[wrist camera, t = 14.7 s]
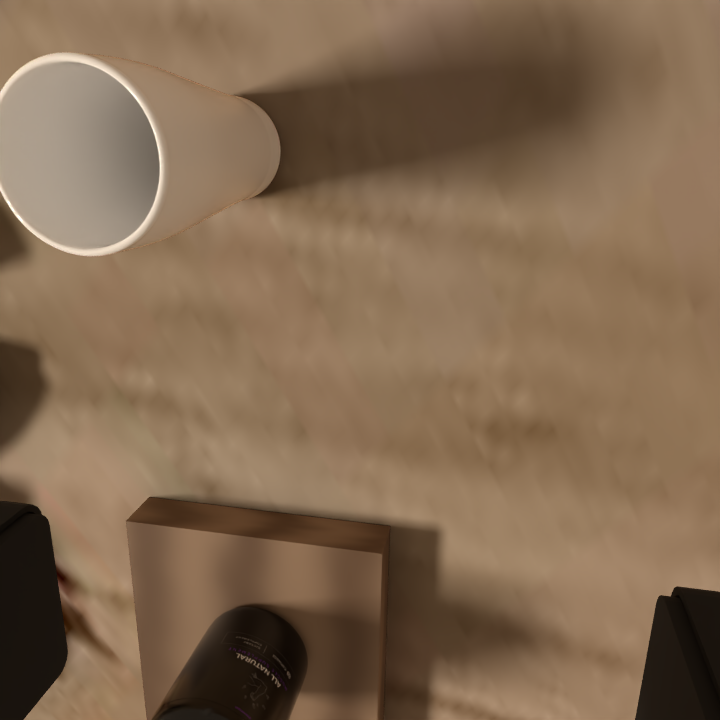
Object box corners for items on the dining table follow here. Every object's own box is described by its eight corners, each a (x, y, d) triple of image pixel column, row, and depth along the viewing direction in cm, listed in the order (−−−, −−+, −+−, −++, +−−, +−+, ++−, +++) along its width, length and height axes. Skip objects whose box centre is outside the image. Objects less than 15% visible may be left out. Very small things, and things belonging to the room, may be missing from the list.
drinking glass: (243, 52, 35) (73, 0, 21) (322, 162, 36) (209, 180, 22) (153, 136, 38) (-53, 138, 24) (230, 237, 39) (75, 296, 25)
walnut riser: (390, 526, 42) (382, 553, 40) (383, 728, 47) (375, 766, 45) (149, 497, 45) (125, 521, 42) (167, 691, 50) (147, 724, 47)
